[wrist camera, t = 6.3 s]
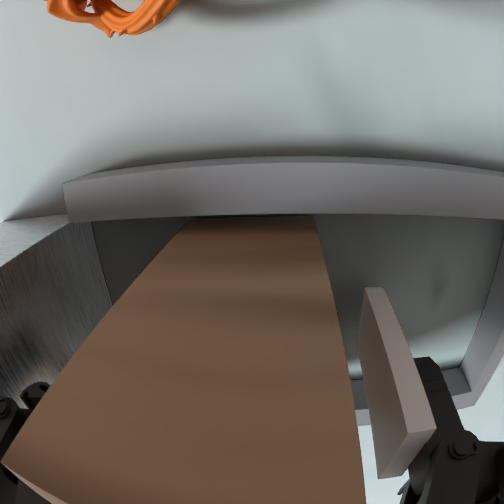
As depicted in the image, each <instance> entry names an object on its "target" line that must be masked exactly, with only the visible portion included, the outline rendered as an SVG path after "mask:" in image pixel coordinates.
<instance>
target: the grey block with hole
mask: <svg viewBox="0 0 504 504" xmlns="http://www.w3.org/2000/svg"><path fill="white" fill-rule="evenodd" d="M112 306H113V305H112V302H111V299H110V295H109V292H108V289H107V285H106V282H105V278H104V275H103V271H102V267H101V263H100V260H99V256H98V252H97V248H96V243H95V239H94V235H93V230H92V226H91V221H90V222H77V223H69V220H68V215H67V214H61V215H51V216H43V217H34V218H26V219H18V220H11V221H4V222H1V223H0V399H1V398H5V397H8V398H12V399H13V400H15V402H16V403H17V404H18V406H19V407H20V408H23V409H28V408H27V406H26V405H25V404H24V402H23V401H22V399H21V398H20V395H21V393H22V392H23V390H24V389H26V388H27V387H28V386H29V385H31V384H33V383H36V382H47V383H48V384H50V385H52V383H53V382H54V380H55V379H56V378H57V376H58V375H59V374H60V372H61V371H62V370H63V368H64V367H65V366H66V364H67V363H68V362H69V360H70V359H71V358H72V356H73V355H74V354H75V352H76V351H77V350H78V349H79V347H80V346H81V345H82V343H83V342H84V341H85V340H86V338H87V337H88V336H89V335H90V333H91V332H92V331H93V330H94V328H95V327H96V326H97V325H98V323H99V322H100V321H101V320H102V318H103V317H104V316H105V315H106V314H107V312H108V311H109V310H110V309H111V307H112Z"/></svg>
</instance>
